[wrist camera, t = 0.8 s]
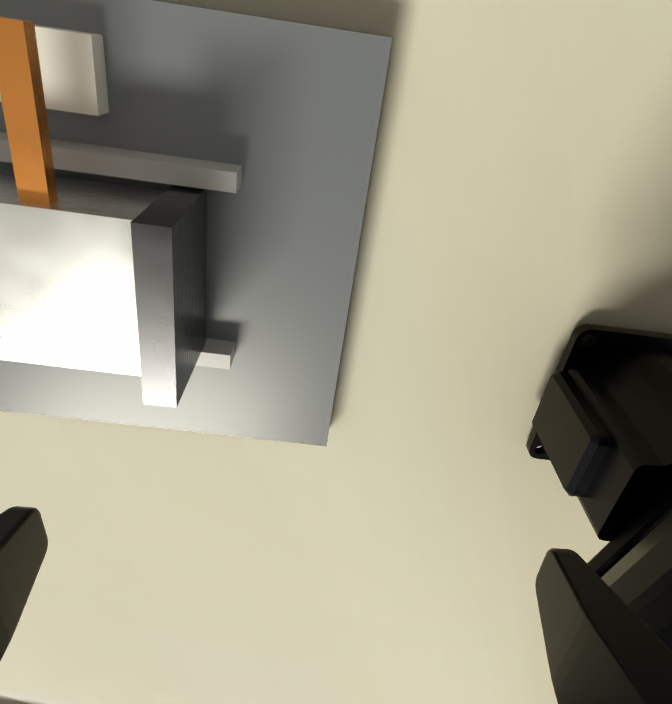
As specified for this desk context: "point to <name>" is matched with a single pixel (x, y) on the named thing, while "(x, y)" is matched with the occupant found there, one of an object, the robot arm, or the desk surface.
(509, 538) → the desk surface
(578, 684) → the robot arm
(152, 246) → the grey block
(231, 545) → the desk surface
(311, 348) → the board
